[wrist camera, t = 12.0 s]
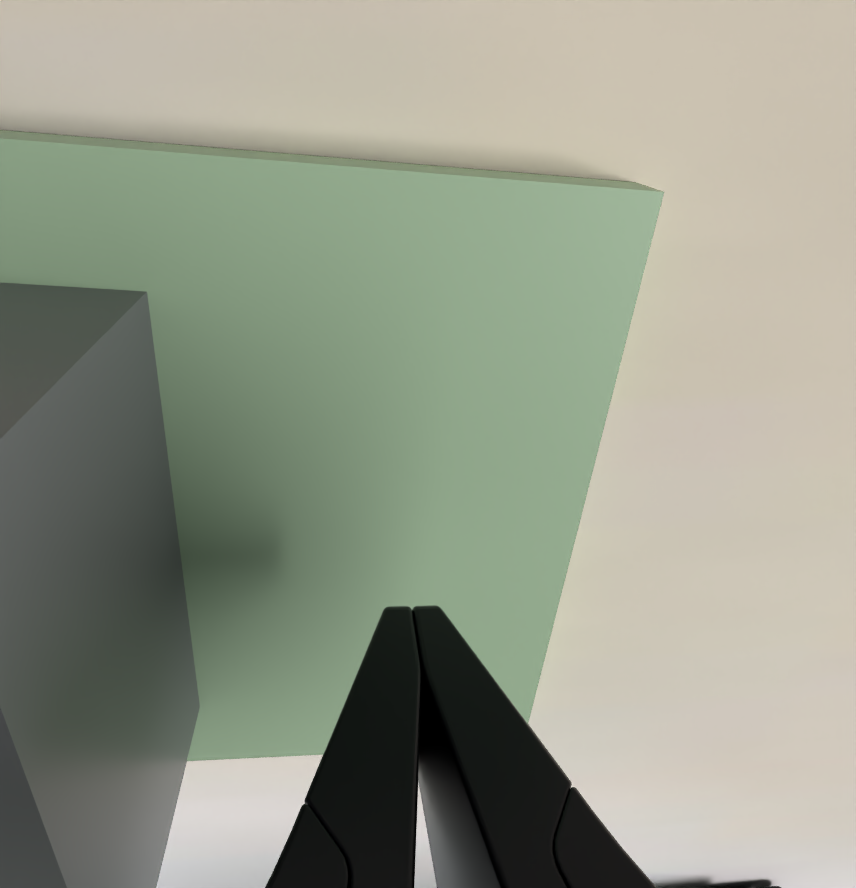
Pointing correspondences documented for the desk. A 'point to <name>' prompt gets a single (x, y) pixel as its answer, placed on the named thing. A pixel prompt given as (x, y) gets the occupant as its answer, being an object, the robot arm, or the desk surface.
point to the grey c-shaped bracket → (87, 595)
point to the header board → (349, 394)
